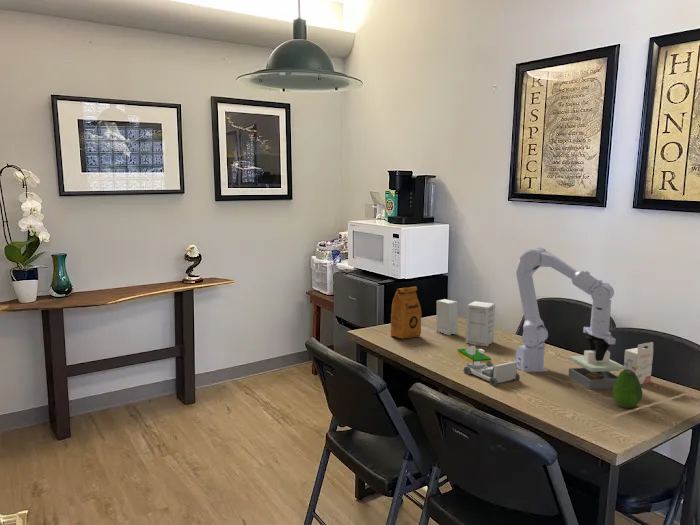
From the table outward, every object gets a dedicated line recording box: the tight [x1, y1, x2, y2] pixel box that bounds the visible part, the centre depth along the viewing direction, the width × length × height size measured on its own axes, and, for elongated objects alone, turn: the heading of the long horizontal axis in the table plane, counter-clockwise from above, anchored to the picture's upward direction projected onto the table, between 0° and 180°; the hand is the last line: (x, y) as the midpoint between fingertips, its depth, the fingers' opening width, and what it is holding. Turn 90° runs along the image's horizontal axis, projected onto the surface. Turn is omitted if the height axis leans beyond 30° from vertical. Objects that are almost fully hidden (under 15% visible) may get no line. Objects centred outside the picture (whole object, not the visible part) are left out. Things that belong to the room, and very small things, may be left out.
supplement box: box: [465, 300, 496, 348], centre depth 228 cm, size 10×9×17 cm
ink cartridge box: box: [623, 341, 654, 385], centre depth 184 cm, size 9×5×15 cm, turn 117°
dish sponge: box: [456, 347, 492, 364], centre depth 208 cm, size 7×14×2 cm, turn 16°
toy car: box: [463, 344, 521, 387], centre depth 189 cm, size 18×10×12 cm
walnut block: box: [586, 372, 604, 380], centre depth 184 cm, size 4×4×2 cm
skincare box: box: [435, 298, 459, 336], centre depth 242 cm, size 8×6×15 cm
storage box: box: [568, 367, 618, 390], centre depth 184 cm, size 12×12×4 cm
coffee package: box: [390, 286, 423, 339], centre depth 234 cm, size 10×12×22 cm
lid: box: [568, 350, 625, 372], centre depth 183 cm, size 12×12×5 cm
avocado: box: [612, 369, 643, 409], centre depth 163 cm, size 8×8×12 cm
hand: (596, 358), depth 183 cm, fingers closed on lid, 2 cm apart
